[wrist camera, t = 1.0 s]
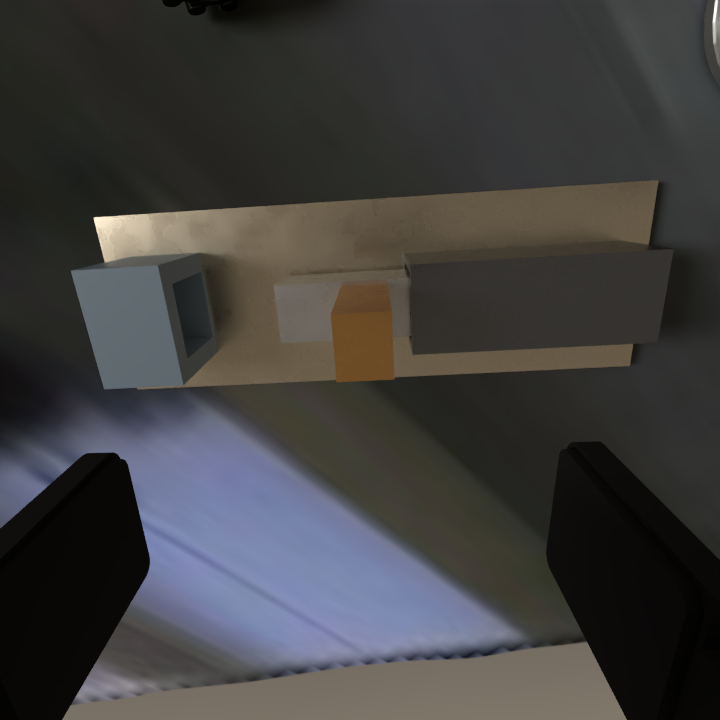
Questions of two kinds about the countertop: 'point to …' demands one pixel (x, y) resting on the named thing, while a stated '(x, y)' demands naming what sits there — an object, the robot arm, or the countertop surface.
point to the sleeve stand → (429, 276)
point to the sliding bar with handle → (348, 317)
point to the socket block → (147, 319)
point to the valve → (202, 5)
